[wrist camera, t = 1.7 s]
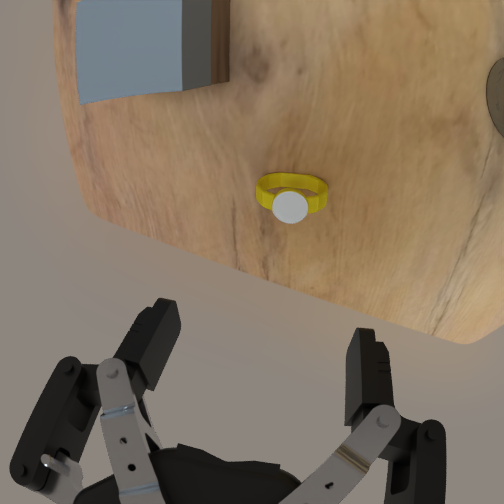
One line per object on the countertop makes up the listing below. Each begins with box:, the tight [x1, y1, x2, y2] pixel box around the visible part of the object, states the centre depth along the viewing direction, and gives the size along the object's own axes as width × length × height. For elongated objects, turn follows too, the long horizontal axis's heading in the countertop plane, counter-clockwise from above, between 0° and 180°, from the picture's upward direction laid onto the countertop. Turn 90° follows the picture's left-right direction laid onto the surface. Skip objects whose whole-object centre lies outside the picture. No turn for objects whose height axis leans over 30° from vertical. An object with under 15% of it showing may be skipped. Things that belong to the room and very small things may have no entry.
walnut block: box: [211, 0, 230, 84], centre depth 19 cm, size 8×8×5 cm
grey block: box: [76, 0, 212, 105], centre depth 15 cm, size 8×8×5 cm
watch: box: [256, 172, 328, 224], centre depth 24 cm, size 6×3×6 cm, turn 91°
